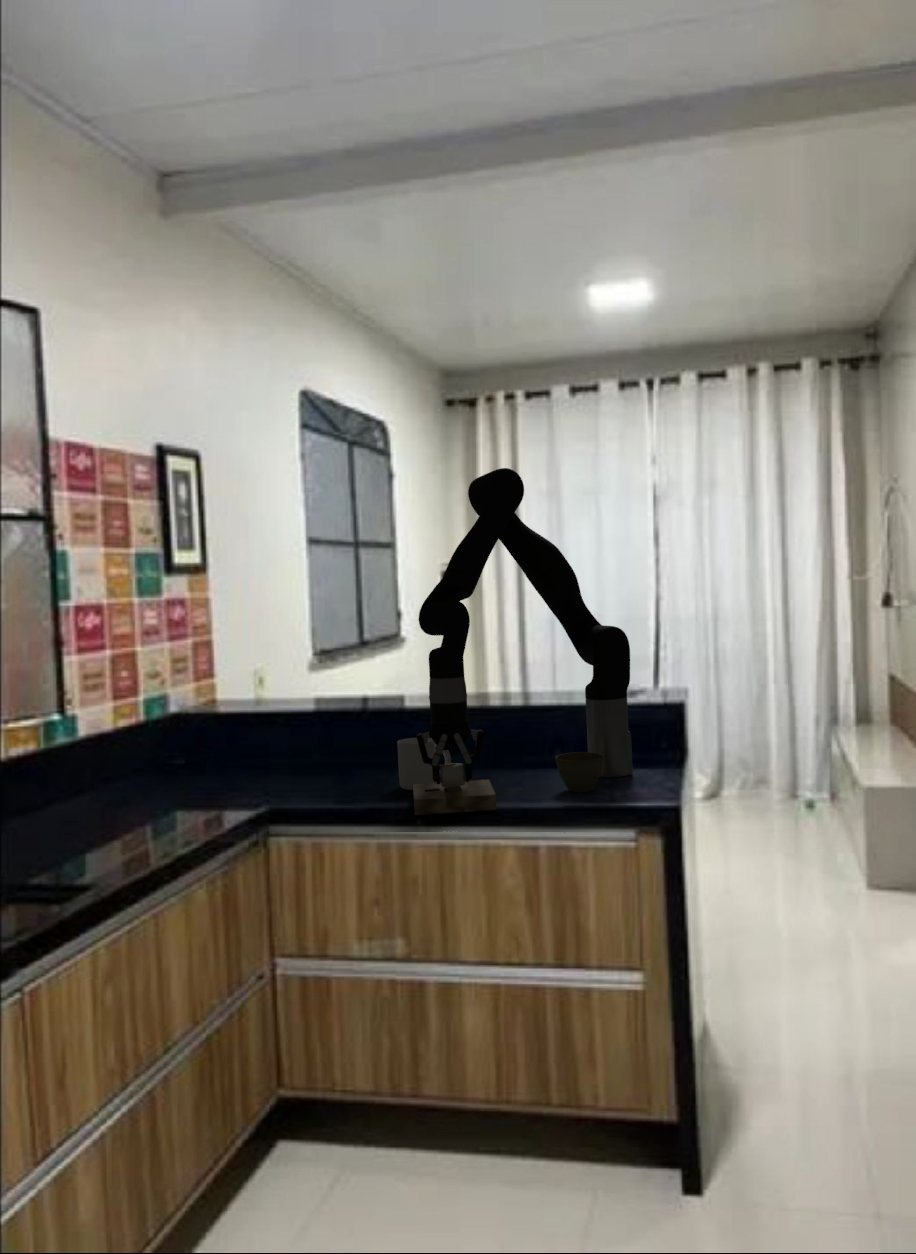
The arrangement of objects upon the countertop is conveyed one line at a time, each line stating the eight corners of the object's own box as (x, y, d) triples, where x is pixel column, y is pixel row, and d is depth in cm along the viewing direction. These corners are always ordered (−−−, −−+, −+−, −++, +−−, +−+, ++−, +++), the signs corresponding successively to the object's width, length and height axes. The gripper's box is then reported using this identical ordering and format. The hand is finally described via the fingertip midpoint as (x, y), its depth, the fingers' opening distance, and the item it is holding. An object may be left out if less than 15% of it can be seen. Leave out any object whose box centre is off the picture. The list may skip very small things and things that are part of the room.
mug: (446, 779, 248) (444, 734, 248) (458, 786, 241) (455, 739, 240) (395, 785, 245) (392, 739, 244) (405, 792, 237) (402, 744, 236)
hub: (489, 793, 230) (488, 778, 230) (496, 809, 214) (495, 793, 214) (413, 798, 230) (412, 782, 229) (414, 815, 214) (413, 798, 213)
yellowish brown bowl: (549, 793, 227) (547, 759, 227) (567, 784, 236) (566, 751, 236) (594, 796, 223) (593, 761, 222) (611, 786, 231) (610, 752, 231)
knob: (466, 801, 225) (462, 761, 224) (467, 805, 220) (464, 765, 219) (442, 803, 224) (439, 763, 224) (443, 808, 219) (440, 767, 219)
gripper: (482, 695, 225) (486, 777, 226) (412, 699, 224) (416, 781, 225) (485, 699, 218) (489, 784, 218) (412, 703, 217) (417, 788, 218)
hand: (452, 782), depth 222 cm, fingers open, 5 cm apart
